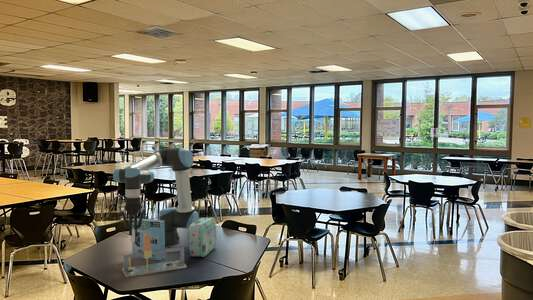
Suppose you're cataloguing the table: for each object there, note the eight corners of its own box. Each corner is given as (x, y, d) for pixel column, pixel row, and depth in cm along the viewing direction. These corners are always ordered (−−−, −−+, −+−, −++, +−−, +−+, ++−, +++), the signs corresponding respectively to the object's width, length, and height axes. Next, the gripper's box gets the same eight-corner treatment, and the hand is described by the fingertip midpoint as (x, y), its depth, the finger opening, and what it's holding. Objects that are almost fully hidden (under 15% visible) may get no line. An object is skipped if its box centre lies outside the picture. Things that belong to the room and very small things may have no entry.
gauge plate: (122, 270, 216) (122, 267, 216) (180, 261, 231) (180, 258, 231) (125, 277, 206) (125, 273, 206) (186, 267, 221) (186, 264, 221)
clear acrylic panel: (123, 270, 212) (123, 254, 212) (183, 261, 227) (182, 246, 227) (124, 272, 210) (124, 255, 209) (184, 263, 225) (184, 247, 224)
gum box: (165, 258, 237) (165, 219, 236) (160, 261, 232) (160, 221, 231) (136, 255, 243) (136, 217, 242) (131, 257, 238) (131, 219, 237)
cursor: (142, 267, 217) (142, 234, 217) (150, 265, 219) (149, 233, 219) (144, 269, 214) (143, 236, 213) (151, 268, 216) (151, 235, 215)
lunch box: (203, 260, 234) (203, 223, 233) (186, 259, 236) (186, 222, 235) (218, 247, 260) (218, 214, 259) (202, 246, 262) (202, 213, 261)
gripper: (120, 198, 205) (121, 244, 206) (147, 197, 211) (147, 241, 212) (118, 196, 212) (119, 241, 213) (144, 195, 218) (144, 238, 219)
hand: (133, 241), depth 212 cm, fingers closed
